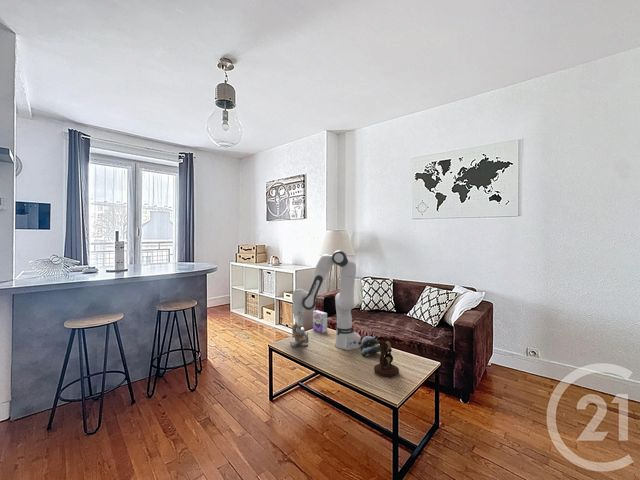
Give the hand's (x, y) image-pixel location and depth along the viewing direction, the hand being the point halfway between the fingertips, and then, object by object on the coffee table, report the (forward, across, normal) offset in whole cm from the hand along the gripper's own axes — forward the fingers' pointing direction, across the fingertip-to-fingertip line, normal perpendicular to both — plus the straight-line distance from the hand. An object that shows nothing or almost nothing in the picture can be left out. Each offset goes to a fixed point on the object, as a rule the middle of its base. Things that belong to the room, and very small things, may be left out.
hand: (298, 328), depth 227 cm
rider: (+2, -7, 0) cm, 8 cm away
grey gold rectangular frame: (+12, -7, 0) cm, 14 cm away
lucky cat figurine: (+12, -31, -45) cm, 56 cm away
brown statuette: (+12, -59, -44) cm, 75 cm away
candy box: (+12, +27, -23) cm, 37 cm away
